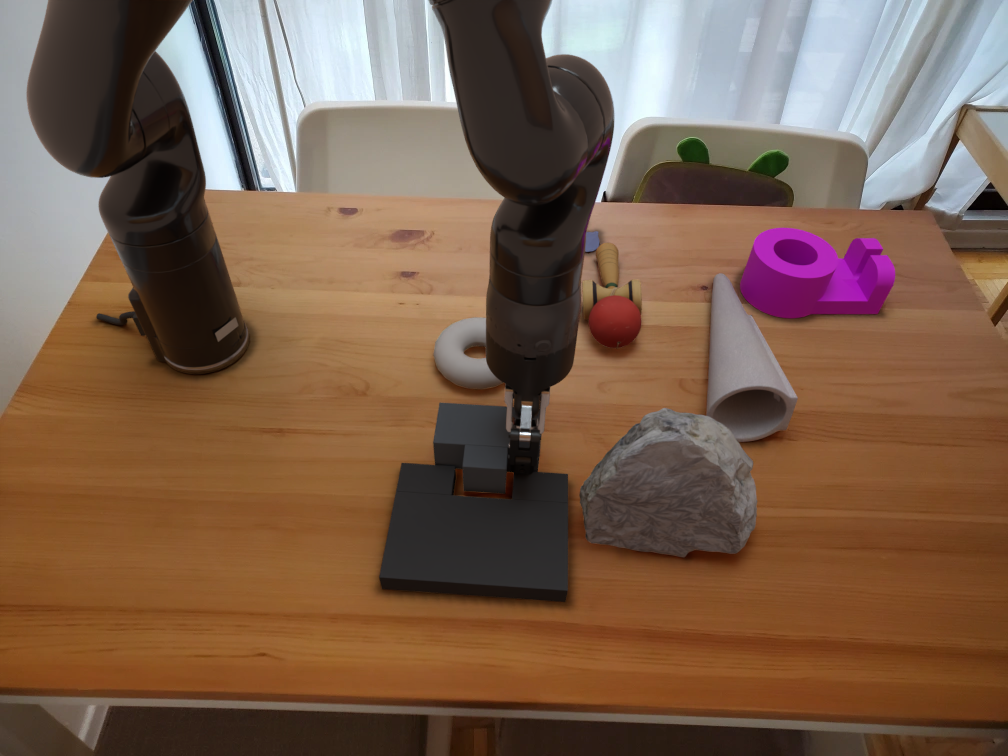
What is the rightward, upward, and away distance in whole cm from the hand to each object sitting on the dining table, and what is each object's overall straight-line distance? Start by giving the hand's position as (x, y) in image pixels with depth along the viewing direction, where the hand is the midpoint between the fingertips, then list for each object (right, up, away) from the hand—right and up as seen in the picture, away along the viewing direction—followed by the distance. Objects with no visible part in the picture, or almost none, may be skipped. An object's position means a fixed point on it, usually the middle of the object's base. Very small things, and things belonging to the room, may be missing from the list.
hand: (523, 447), depth 70 cm
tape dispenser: (+36, +18, +21) cm, 45 cm away
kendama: (+11, +15, +18) cm, 26 cm away
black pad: (-4, -8, -4) cm, 10 cm away
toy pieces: (+6, +25, +27) cm, 38 cm away
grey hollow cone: (+22, +10, +13) cm, 28 cm away
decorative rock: (+13, -7, -3) cm, 15 cm away
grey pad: (-4, -1, 0) cm, 4 cm away
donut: (-5, +8, +11) cm, 15 cm away
